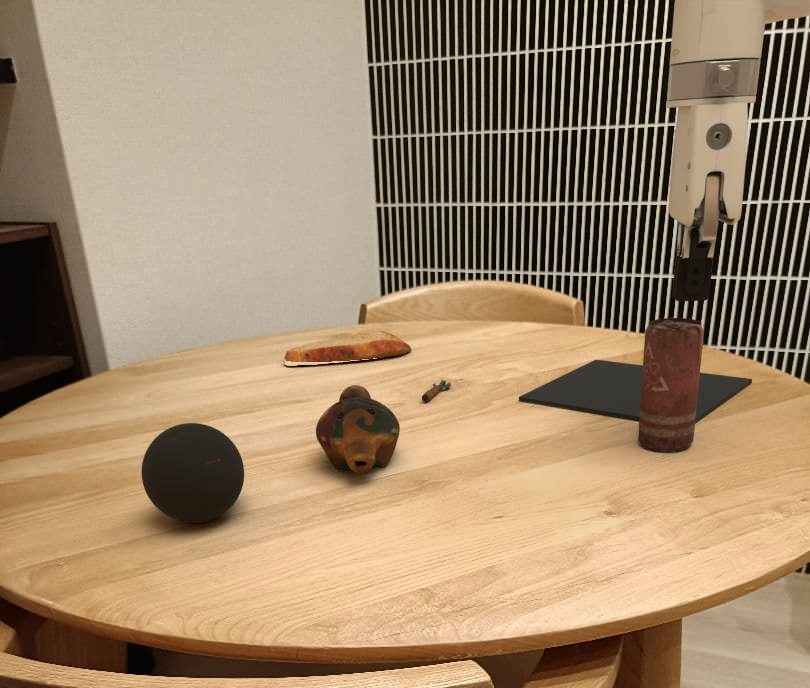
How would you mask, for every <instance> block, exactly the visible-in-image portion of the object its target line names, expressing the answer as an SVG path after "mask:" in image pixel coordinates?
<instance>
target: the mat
mask: <svg viewBox="0 0 810 688" xmlns="http://www.w3.org/2000/svg"><path fill="white" fill-rule="evenodd" d="M642 372H643V364H634V363H626V362H620V361H619V362H618V361H612V360H611V361H610V360H602V359H594V360H591V361H589V362H587V363H586V364H584V365H581V366H579V367H578V368H575V369H573V370H571V371H569V372H567V373H565V374H562V375H561V376H559V377H556V378H555V379H553V380H551V381H548V382H547V383H545V384H542V385H540V386H538V387H536V388H534V389H532V390H530V391H527V392H526V393H524V394H522V395H520V396H518V402H524V403H528V404H530V403H531V404H535V405H542V406H547V407H554V408H558V409H566V410H571V411H572V410H573V411H578V412H583V413H589V414H596V415H600V416H601V415H602V416H607V417H613V418H619V419H620V418H621V419H625V420H632V421H636V422H639V417H640V402H641V387H642ZM752 383H753V378H748V377H739V376H731V375H724V374H715V373H706V372H700V377H699V387H698V397H697V408H696V418H695V424H697V423H698V422H699V421H701V420H702V419H703V418H705V417H707V416H708V415H710V414H711V413H712V412H713V411H715V410H717V409H718V408H719V407H720V406H722V405H723V404H725V403H726V402H727V401H729V400H730V399H731V398H733V397H734V396H737V395H738V393H740V392H741V391H742V390H744V389H746V388H747V387H748V386H750V385H751V384H752ZM745 387H746V388H745Z"/></svg>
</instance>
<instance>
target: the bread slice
mask: <svg viewBox="0 0 810 688" xmlns="http://www.w3.org/2000/svg"><path fill="white" fill-rule="evenodd" d="M410 351H411V352H412V348H411V346H410V345H409V344H408V343H407V342H405V341H404V340H402V339H401V338H399V337H398V336H396V335H394V334H392V333H391V332H387V331H385V330H379V331H375V332H367V333H366V332H365V333H362V332H361V333H356V334H350V335H344V336H338V337H334V338H329V339H327V340H326V339H325V340H319V341H316V342H312V343H307V344H303V345H301V346H296V347H294V348H291V349H289V350H287V351H286V353H285V355H284V357H283V358H284V359H285V360H286V361H291V362H332V361H350V360H362V359H373V358H382V359H384V358H383V357H387V358H389V357H388V356H395V357H398V356H397V355H399V356H402V355H401V354H403V355H406V354H408V353H411V352H410ZM407 352H408V353H407ZM284 359H283V360H284Z"/></svg>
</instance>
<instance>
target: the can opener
mask: <svg viewBox="0 0 810 688" xmlns="http://www.w3.org/2000/svg"><path fill="white" fill-rule="evenodd" d="M451 386H452V383H451V382H450V381H449V382H447V380H445V379H441V381H440V382H439V384H436V383H432V387H431V388H430V389H428V390H427V391H425V392H424V393H423V394H422V396H421V400H422V402H425V403H426V402H428V401H430V400H431V399H433V397H435V395H437V393H439V392H440V390H441V389H448V388H450V387H451Z"/></svg>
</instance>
